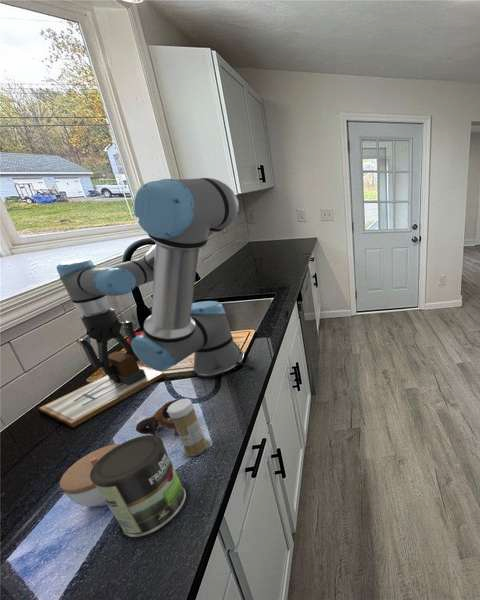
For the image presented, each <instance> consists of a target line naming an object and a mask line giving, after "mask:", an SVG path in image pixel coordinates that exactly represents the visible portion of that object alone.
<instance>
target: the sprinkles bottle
mask: <svg viewBox="0 0 480 600" xmlns="http://www.w3.org/2000/svg"><path fill="white" fill-rule="evenodd" d="M177 400H178V399H177ZM193 408H194V405H193V401H192V400H191V399H189V398H182V399H181V400H178V401H176V402H174V403H172V404H171V405H170V406H169V407H168V409H167V412H168V414H169V416H170V417H171V418H170V419H171V421H173V422H174V425H175V427H176V430H177V433H178V435H179V436H178V437H179V440H180V442H181V444H182V447H183V449H184V452H185V455H186V456H187V457H196V456H198V455H200V454H202V453H203V452H204V451H206V449H207V447H208V442H207V441H206V438H205V436H204V432H203V429H202V426H201V423H200V422H199V419H198V417H197V415H196V411H195V408H194V409H193ZM194 411H195V412H194Z"/></svg>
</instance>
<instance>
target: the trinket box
mask: <svg viewBox="0 0 480 600" xmlns="http://www.w3.org/2000/svg"><path fill="white" fill-rule="evenodd" d="M120 444H121V443H115V444H110V445H105V446H103V447H100V448H98V449H96V450H93V451H92V452H90V453H88V454H85V456H83V457H81V458H80V459H78V460H77V461H76V462H74V463H73V464H72V465H71V466H69V468H68V469H67V470H66V471H65V472H64V473H63V474H62V476H61V478H60V479H59V487H60V489H61V491H62V492H63V493H65V495H66V496H67V497H68V498H69V499H70V500H71V501H72V502H74V503H75V504H76V505H78V506H79V505H80V506H82V507H90V508H91V507H102V506H106V505H107V503H106V501H105V500H104V498H103V496H102V495H101V493H100V491H99V490H98V488H97V487H96V485H95V484H94V483H93V482H92V481H91V479H90V472H91V470H92V468H93V466H94V465H95V464H96V462H97V461H98V460H99V459H100V458H101V457H103V456H104V455H105V454H106V453H108V452H109V451H110V450H112V449H113V448H115V447H117V446H118V445H120Z"/></svg>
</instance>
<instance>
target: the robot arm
mask: <svg viewBox="0 0 480 600" xmlns="http://www.w3.org/2000/svg"><path fill="white" fill-rule="evenodd" d="M239 205H240V204H239V200H238V197H237V195H236V193H235V192H234V191H233V190H232V188H231V187H230V186H229V185H227V184H226V183H224V182H222V181H221V180H218V179H216V178H212V177H211V178H210V177H200V178H183V179H181V178H179V179H178V178H177V179H174V178H162V179H160V180H152V181H149V182H146V183H144V184H143V185H142V186H140V187H139V188H138V189H137V191H136V193H135V195H134V198H133V212H134V216H135V218H138V221H137V223H138V225H139V226H140V227H141V228H142V230H143V231H144V232H145V233H146V234H147V236H148V237H149V239H151V240H152V242H154V243H155V244H154V245H153V246H152V247H151V248H150V249H149V250H148V251H147V252H146V253H145V254H143V256H141V257H139V258H136V259H132V260H129V261H125V262H120V263H117V264H114V265H110V266H105V267H96V265H94V263H93V261H92V260H91V259H88V258H83V259H81V258H79V259H74V260H69V261H65V262H61V263H58V265H56V271H57V273H58V276H59V280H60V281H61V282H62V284H63V286H64V288H65V290H66V292H67V294H68V296H69V297H70V300H71V301H72V304H73V306H74V308H75V310H76V311H77V314H78V315H79V316H80V320H81V322H82V324H83V326H84V328H85V329H86V333H85V336H83V337H82V338H78V339H76V343H77V344H78V345H80V346H81V347H82V350H83V351H84V353H85V354H86V357H87V359H88V361H89V363H90V365H91V367H92V368H94V369H101V368H102V370H103V372H104V374H105V376H106V375H109V376H110V375H111V377H112V379H113V381H114V382H116V383H120V382H121V381H120V378H119V376H118V374H117V372H116V370H115V368H114V366H113V364H109V358H108V355H109V351H108V342H109V341H111V340H112V339H114V340H115V341H116V342H117V343H118V344H119V346H121V347H122V349H124V350H125V351H126V352H127V354H128V355H132V356H133V358H134V360H135V362H136V364H137V367H138V365H139V364H138V362H141V363H142V364H144V365H145V366H147V368H149V369H153V370H156V371H159V372H163V371H166V370H168V369H170V368H172V367H173V366H177V365H178V364H179V363H181V362H182V361H184V360H185V359H187V358H189V357H190V356H191V355H193V354H194V357H193V362H192V361H191V359H189V361H190V364H191V365H192V366H193V371H194V374H195V375H196V376H197V377H199V378H203V379H209V378H210V379H211V378H216V377H221V376H224V375H226V374H229V373H232V372H233V371H235V370H236V369H238V368H239V367H240V366H242V367H245V368H248V369H251V370H253V369H254V366H252V365H250V364H246V363H244V362H245V354H244V352H243V350H242V349H241V348H240V346H239V345H238V344H237V343H236V341H235V340H234V338H233V334H232V331H231V327H230V324H229V321H228V317H227V312H226V311H225V308H224V306H223V303H221V302H219V301H216V300H204V301H197V302H193V299H194V290H195V282H196V274H197V268H198V260H199V251H200V249H201V248H204V247H205V246H206V245H207V244H208V239H209V237H210V236H211V235H212V234H214V233H219V232H222V231H224V229H225V228H227V227H228V226H230V224H232V223H233V221H235V219H236V218H237V216H238V214H239V208H240V206H239ZM151 282H152V300H151V314H150V315H149V316H148V317H146V318H145V320H144V322H143V331H142V332H143V334H141V335H138V336H136V335H135V333H136V332H135V331H134V323H133V322H132V321H129V320H125V321H120V320H119V318H118V315H117V313H116V311H115V309H114V308H112V307H113V304H112V302H111V300H110V298H109V296H110V297H112V296H113V297H118V296H125V295H128V294H130V293H131V292H132V291H133V290H134V289H135V288H136V287H137V288H138V287H140V286H142V285H145V284H149V283H151ZM121 329H124V331H125V334H126V336H127V338H128V339H129V341H130V343H131V345H130V344H129V343H128V342H127V341H126V340H127V339H126V338H125V337H124V335H123V334H122V333H121ZM91 339H93V340H95V343H96V345H97V352H98V356H97V354H96V351H95V349H94V348H93V346H92V344H91V342H92V340H91ZM138 368H139V367H138Z"/></svg>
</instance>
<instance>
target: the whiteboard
mask: <svg viewBox="0 0 480 600" xmlns="http://www.w3.org/2000/svg"><path fill="white" fill-rule="evenodd" d="M137 365H138V367H139V369H143V370H144V372H145V375H146V376H145V377H143V378H141V379H140V380H138V381H136V382H134V383H132V384H130V385H127V384H124V383H122V382H120V383H116V382H114V381H113V379H110V378H109V377H108V375H106V374H105V375H104V376H102V377H100V378H98V379H95V380H94V381H91V382H90V383H87V384H85V385H83V386H81V387H79V388H77V389H75V390H73V391H71V392H69V393H66V394H64V395H62V396H61V397H58V398H56V399H55V400H53V401H50V402H48V403H46V404H44V405H42V406H40V407H38V409H39V410H40V412H42V413H44V414H45V415H48V416H50V417H52V418H54V419H56V420H58V421H59V422H62V423H63V424H65V425H67V426H70V427H71V428H75V427H76V426H79V425H80V424H82V423H83V422H85V421H87V420H89V419H91V418H93V417H94V416H97V415H98V414H100V413H102V412H103V411H106V410H107V409H109V408H111V407H112V406H114V405H116V404H117V403H119V402H121V401H123V400H124V399H126V398H128V397H130V396H132V395H133V394H136V393H137V392H139V391H141V390H142V389H144V388H146V387H148V386H150V385H152V384H153V383H155V382H157V381H159V380H160V379H162V378H164V377H165V374H164V372H163V371H160V370H155V369H152V368H150V367H146V366H143V365H139V364H137Z"/></svg>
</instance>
